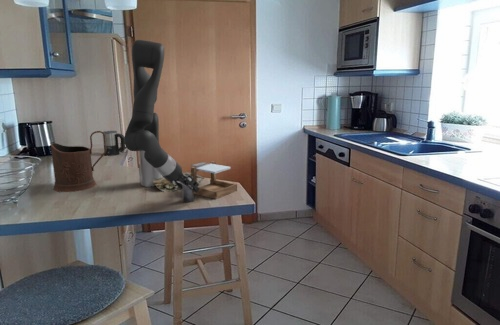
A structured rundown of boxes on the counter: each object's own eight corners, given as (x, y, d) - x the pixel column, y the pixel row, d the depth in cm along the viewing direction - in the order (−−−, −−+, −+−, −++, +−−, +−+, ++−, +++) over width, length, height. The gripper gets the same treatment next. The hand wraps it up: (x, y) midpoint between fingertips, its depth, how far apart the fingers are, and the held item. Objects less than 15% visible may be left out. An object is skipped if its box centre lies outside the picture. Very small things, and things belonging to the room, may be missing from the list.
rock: (153, 191, 176) (158, 197, 162) (149, 177, 175) (154, 182, 161) (200, 178, 184) (209, 182, 171) (196, 164, 183) (205, 168, 169)
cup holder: (56, 182, 180) (50, 130, 174) (110, 178, 187) (105, 128, 181) (49, 193, 163) (41, 136, 157) (108, 188, 170) (103, 133, 164)
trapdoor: (188, 171, 164) (188, 165, 163) (205, 166, 172) (204, 161, 171) (214, 176, 155) (214, 170, 155) (230, 171, 163) (230, 166, 163)
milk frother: (103, 156, 238) (100, 132, 234) (106, 151, 253) (104, 129, 249) (126, 155, 241) (124, 131, 238) (128, 150, 256) (126, 128, 252)
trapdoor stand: (189, 192, 163) (188, 166, 161) (211, 185, 174) (210, 160, 172) (216, 199, 155) (215, 172, 152) (237, 190, 166) (236, 165, 163)
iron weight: (180, 201, 152) (179, 177, 150) (188, 198, 156) (187, 174, 154) (188, 203, 150) (187, 179, 148) (196, 200, 153) (195, 176, 151)
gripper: (185, 161, 139) (207, 184, 150) (159, 156, 147) (182, 178, 159) (175, 178, 136) (198, 200, 147) (149, 172, 144) (173, 193, 156)
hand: (190, 189), depth 153 cm, fingers open, 7 cm apart
